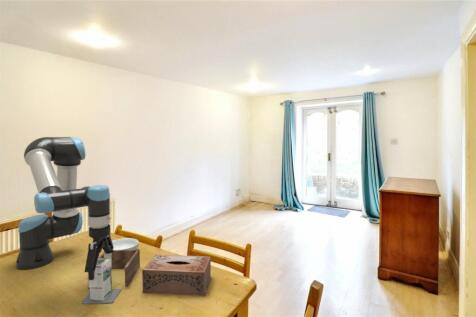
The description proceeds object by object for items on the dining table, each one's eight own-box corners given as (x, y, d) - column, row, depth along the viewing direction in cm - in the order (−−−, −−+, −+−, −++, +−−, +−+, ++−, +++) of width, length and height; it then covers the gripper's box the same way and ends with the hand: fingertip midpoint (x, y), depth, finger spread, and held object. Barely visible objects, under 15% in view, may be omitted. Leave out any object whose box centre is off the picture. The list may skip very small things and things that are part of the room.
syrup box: (103, 301, 102) (102, 264, 101) (89, 299, 103) (88, 263, 102) (112, 292, 108) (111, 258, 106) (99, 291, 108) (98, 257, 107)
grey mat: (80, 304, 100) (80, 303, 100) (91, 290, 109) (91, 289, 109) (112, 303, 101) (112, 302, 101) (121, 289, 110) (121, 288, 110)
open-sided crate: (88, 288, 111) (87, 268, 110) (106, 267, 129) (105, 250, 128) (127, 287, 112) (127, 267, 111) (139, 267, 130) (139, 249, 129)
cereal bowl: (145, 254, 144) (145, 241, 144) (117, 266, 130) (117, 252, 130) (126, 247, 153) (126, 235, 153) (98, 258, 139) (97, 245, 139)
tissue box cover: (210, 277, 121) (210, 256, 120) (204, 296, 107) (204, 272, 106) (155, 275, 123) (155, 254, 122) (142, 293, 109) (142, 269, 108)
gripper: (94, 237, 91) (96, 295, 93) (121, 215, 116) (121, 262, 118) (72, 237, 91) (74, 296, 92) (103, 215, 115) (104, 262, 117)
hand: (100, 277), depth 105 cm, fingers open, 13 cm apart
